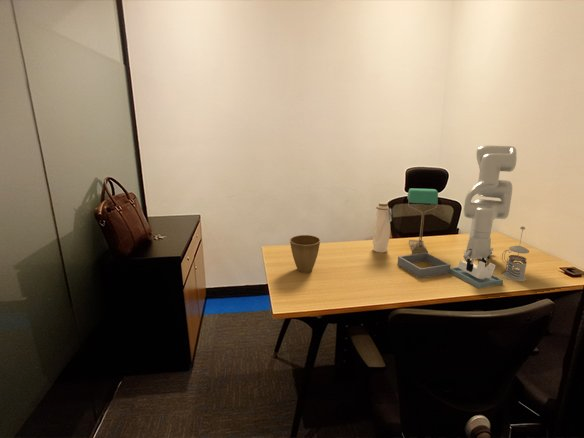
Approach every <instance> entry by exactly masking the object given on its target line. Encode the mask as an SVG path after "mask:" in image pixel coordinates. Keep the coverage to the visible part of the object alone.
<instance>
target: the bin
mask: <svg viewBox="0 0 584 438" xmlns="http://www.w3.org/2000/svg"><path fill="white" fill-rule="evenodd" d="M421 262H425V263H428V264H430V265H432V266H429V267H423V268H422V267H419V266H418V265H415V264H416V263H421ZM414 263H415V264H414ZM397 265H398V266H399V267H400V268H403V269H404V270H406V271H407V272H409V273H410V274H412V275H414V276H415V277H417V278H419V279H422V278H428V277H434V276H442V275H447V274H451V273H450V268H451V264H450V263H448V262H446V261H445V260H442V259H440V258H439V257H436V256H434V255H432V254H430V253H429V252H428V253H420V254H416V253H411V254H406V255H405V254H404V255H399V256H398V257H397Z"/></svg>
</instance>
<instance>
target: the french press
mask: <svg viewBox="0 0 584 438" xmlns="http://www.w3.org/2000/svg"><path fill="white" fill-rule="evenodd" d="M519 230H521V234H520V235H521V236H520V238H522V237H523V231H524V230H526V227H525V226H520V229H519ZM521 242H522V239H520V242H519V244H521ZM507 252H508V253H509V255H508V258H507V260H506V257H505V255H506V253H507ZM512 252H513V253H517V255H516V254H511V255H510V253H512ZM528 253H530V250H529V249H527V248H525V247H524V246H522V245H513V246H509V247H508V249H506V250H504V251H503V253H501V260H502V262H503V264H505V271H504V272H503V273H502V274H501V275H502V276H503V278H505V279H508V280H510V281H515V282H525V281H526V280H527V278H526V276H525V274H526V267H527V263H528V262H527V258H526V257H525V256H523V255H520V254H528Z"/></svg>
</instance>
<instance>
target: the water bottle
mask: <svg viewBox="0 0 584 438" xmlns="http://www.w3.org/2000/svg"><path fill="white" fill-rule="evenodd" d="M375 209H376V222H375V232H374V233H373V234H374V235H373V237H372V245H373V247H372V250H373V251H374V252H377V253H386V252H387V250H388V247H389V241H390V237H391V222H392V221H393V216H392V215H393V214H392V208H390V207H389V204H388V202H385V201H384V202H383V201H381V202H378V205H377V206H376V207H375Z"/></svg>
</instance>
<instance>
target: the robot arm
mask: <svg viewBox="0 0 584 438" xmlns="http://www.w3.org/2000/svg"><path fill="white" fill-rule="evenodd" d="M475 154H476V160H477V164H478V168H479V173H478V182H477V183H476V184H475V185H474V186H473V187H472V188H470V190H468V192H467V194H466V196H465V200H464V205H463V216H464V217H465V218H467V219H471V220H470V221H471V223H470V231H469V237H468V238H469V239H468V240H467V245H466V249H465V250H464V252H463V254H464V255H463V258H464V261H465V262H467V267H466V270H467V271H469V272H472V270H473V264H474V262H475V261H476V260H479V261H482V262H484V263H485V267H487V265H488V264H487V263H488V262H489V259H490V258H491V256H492V254H493V251H494V248H493V247H492V245H491V244H492V243H491V235H492V228H493V221H494V220H496V219H498V220H505V219H507V218H508V217H509V215H510V210H511V209H510V208H511V202H512V195H513V183H512V182H511V181H509V180H507V179H500V173H501V172H508V173H509V172H510V173H511V172H513V171H514V170H515V168H516V166H517V165H516V164H517V158H518V157H517V149H516V147H515V146H512V145H481V146H479V147H478V148H477V150H476V153H475ZM475 195H478V196H479V197H481V198H482V197H483V198H482V199H481V198H480V199H475V200H474V201H473V202H472V200H473V197H475ZM484 198H485V199H484ZM486 198H493V199H486ZM494 199H499V200H494Z"/></svg>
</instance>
